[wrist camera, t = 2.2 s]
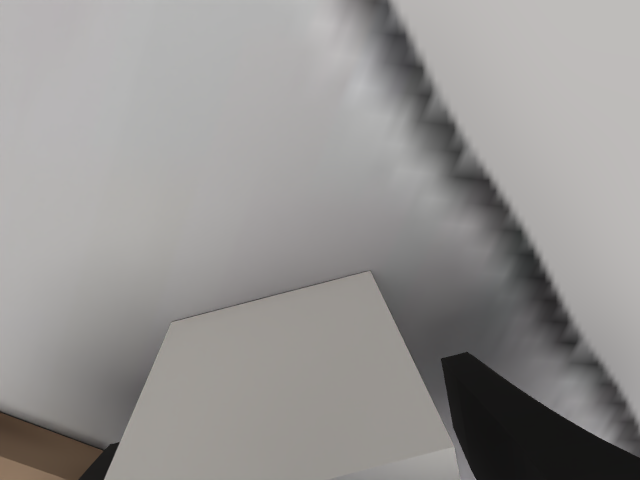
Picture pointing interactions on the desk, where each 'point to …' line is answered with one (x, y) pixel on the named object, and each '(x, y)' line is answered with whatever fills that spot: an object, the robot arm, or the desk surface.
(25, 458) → the duct base
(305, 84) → the desk surface
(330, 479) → the sleeve
